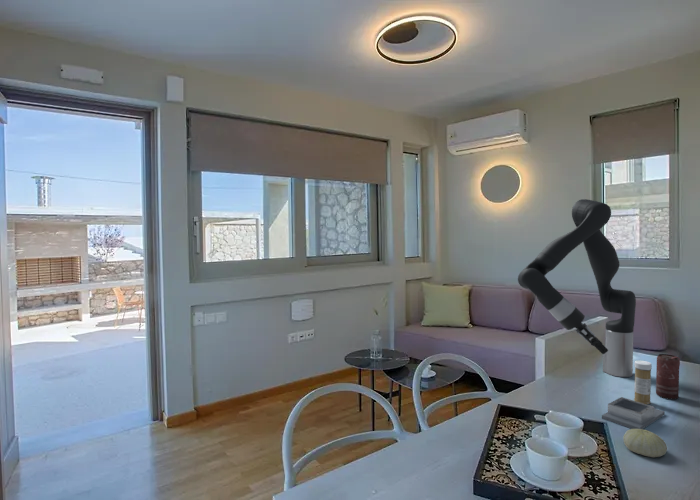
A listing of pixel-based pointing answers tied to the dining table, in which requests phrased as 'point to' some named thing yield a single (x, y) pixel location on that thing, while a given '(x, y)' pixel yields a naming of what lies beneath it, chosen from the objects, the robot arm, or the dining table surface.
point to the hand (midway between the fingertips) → (602, 348)
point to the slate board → (633, 425)
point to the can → (667, 376)
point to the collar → (631, 410)
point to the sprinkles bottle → (642, 381)
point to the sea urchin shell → (644, 443)
